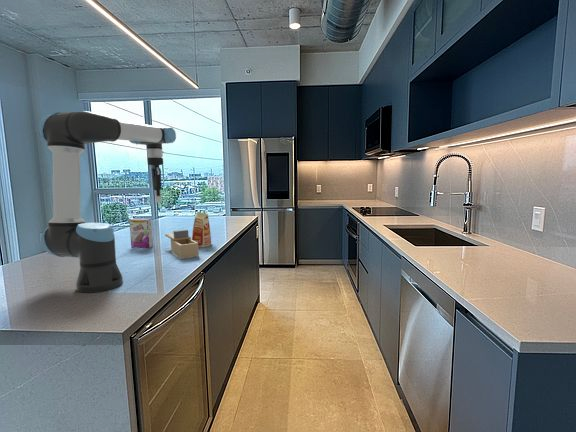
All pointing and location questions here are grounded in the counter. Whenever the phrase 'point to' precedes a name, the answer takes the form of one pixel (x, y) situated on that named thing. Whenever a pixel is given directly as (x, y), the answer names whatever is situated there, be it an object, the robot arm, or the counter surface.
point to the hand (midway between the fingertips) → (158, 202)
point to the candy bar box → (141, 233)
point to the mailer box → (185, 248)
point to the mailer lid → (178, 235)
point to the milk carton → (201, 230)
